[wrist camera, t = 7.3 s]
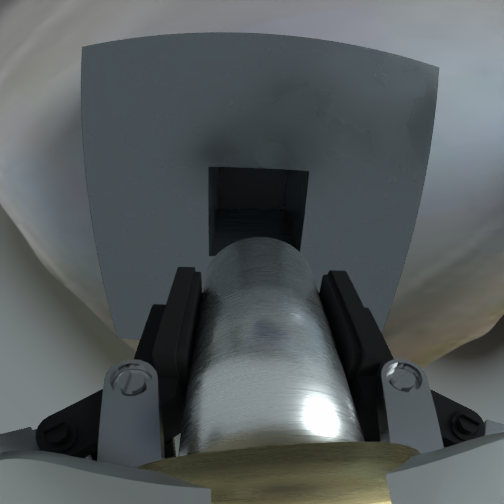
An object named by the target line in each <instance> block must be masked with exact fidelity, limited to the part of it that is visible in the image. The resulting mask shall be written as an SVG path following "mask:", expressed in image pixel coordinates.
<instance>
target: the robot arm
mask: <svg viewBox="0 0 504 504" xmlns="http://www.w3.org/2000/svg"><path fill="white" fill-rule="evenodd" d="M319 295H320V298H321V301H322V304H323V307H324V310H325V313H326V316H327V319H328V322H329V325H330V328H331V331H332V334H333V337H334V340H335V344H336V347H337V350H338V353H339V356H340V359H341V363H342V366H343V369H344V372H345V376H346V379H347V382H348V386H349V389H350V392H351V396H352V399H353V402H354V406H355V409H356V413H357V416H358V420H359V423H360V427H361V431H362V434H363V438H364V441H365V442H387V443H397V444H402V445H407V446H410V447H412V448H415V449H417V450H418V451H419V452H420V453H422V454H420V455H416V456H412V457H411V458H409V459H408V460H407V461H406V462H404V463H403V464H402V465H400V466H399V467H397V468H395V469H394V470H392V471H391V472H389V473H387V474H385V475H386V479H387V484H388V488H389V493H390V498H391V503H392V504H504V424H501V423H497V422H494V421H490V420H486V421H485V422H483V420H482V419H481V417H480V416H479V415H478V414H477V413H476V412H474V411H472V410H471V409H469V408H467V407H464V406H463V405H460V404H459V403H456V402H454V401H453V400H451V399H449V398H447V397H445V396H442V395H440V394H439V393H437V392H435V391H433V390H431V389H430V387H429V383H428V379H427V376H426V374H425V373H424V371H423V369H422V368H421V367H420V366H418V365H417V364H416V363H414V362H412V361H409V360H405V359H393V357H392V355H391V352H390V350H389V348H388V346H387V344H386V342H385V340H384V338H383V335H382V333H381V331H380V329H379V327H378V325H377V323H376V321H375V319H374V317H373V315H372V313H371V311H370V310H369V308H367V307H364V306H363V304H362V302H361V300H360V298H359V296H358V294H357V292H356V290H355V288H354V286H353V284H352V282H351V280H350V278H349V276H348V274H347V272H346V271H336V270H330V271H329V272H328V275H323V277H322V281H321V287H320V292H319ZM201 297H202V278H201V272H195V267H178V268H177V271H176V274H175V277H174V281H173V284H172V287H171V290H170V293H169V296H168V300H167V303H166V305H163V304H154V305H152V308H151V310H150V313H149V316H148V319H147V322H146V324H145V327H144V330H143V333H142V336H141V339H140V342H139V345H138V348H137V351H136V354H135V357H134V359H131V360H124V361H121V362H119V363H117V364H115V365H114V366H113V367H111V368H110V369H109V371H108V372H107V373H106V376H105V379H104V387H103V389H102V390H100V391H98V392H96V393H94V394H92V395H90V396H88V397H86V398H84V399H83V400H81V401H79V402H77V403H75V404H73V405H71V406H69V407H67V408H65V409H63V410H61V411H59V412H57V413H55V414H53V415H51V416H49V417H47V418H46V419H44V420H43V421H42V422H41V423H40V425H39V426H38V428H37V429H35V430H32V428H31V427H28V428H24V429H20V430H16V431H12V432H8V433H3V434H0V504H211V489H210V488H206V487H203V486H200V485H197V484H193V483H190V482H187V481H184V480H181V479H178V478H176V477H173V476H171V475H168V474H166V473H163V472H159V471H151V470H144V469H138V468H136V467H138V466H141V465H143V464H146V463H150V462H154V461H157V460H161V459H167V458H172V457H176V450H175V440H174V437H175V436H176V435H178V434H180V433H181V430H182V422H183V415H184V407H185V400H186V393H187V386H188V380H189V373H190V366H191V360H192V353H193V347H194V340H195V334H196V328H197V321H198V315H199V309H200V303H201Z"/></svg>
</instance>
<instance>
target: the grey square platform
mask: <svg viewBox="0 0 504 504" xmlns="http://www.w3.org/2000/svg"><path fill="white" fill-rule="evenodd" d="M438 76H439V67H436V66H433V65H429V64H426V63H423V62H420V61H416V60H413V59H410V58H406V57H402V56H399V55H395V54H391V53H387V52H383V51H379V50H374V49H370V48H365V47H360V46H355V45H350V44H345V43H339V42H333V41H327V40H320V39H312V38H305V37H296V36H286V35H274V34H258V33H185V34H170V35H158V36H148V37H139V38H131V39H124V40H117V41H111V42H105V43H100V44H94V45H89V46H84V47H82V62H81V110H82V133H83V148H84V160H85V171H86V181H87V189H88V197H89V205H90V212H91V219H92V225H93V231H94V237H95V243H96V248H97V254H98V259H99V264H100V269H101V274H102V278H103V283H104V287H105V292H106V296H107V300H108V304H109V308H110V312H111V316H112V320H113V323H114V327H115V331H116V334H117V337H119V338H129V339H139V340H140V339H141V336H142V333H143V330H144V327H145V324H146V322H147V319H148V316H149V313H150V310H151V308H152V305H154V304H163V305H166V303H167V300H168V296H169V293H170V290H171V287H172V284H173V281H174V277H175V274H176V271H177V268H178V267H195V272H201V278H202V291H203V285H204V279H205V274H206V271H207V268H208V266H209V264H210V262H211V261H212V260H213V258H214V257H215V256H216V255H217V254H218V253H219V252H220V251H221V250H222V249H224V248H225V247H227V246H228V245H230V244H232V243H234V242H237V241H239V240H243V239H246V238H253V237H267V238H273V239H278V240H280V241H283V242H286V243H288V244H290V245H291V246H293V247H294V248H296V249H297V250H298V251H299V252H300V253H301V254H302V255H303V256H304V257H305V259H306V260H307V262H308V264H309V266H310V269H311V272H312V275H313V277H314V280H315V283H316V286H317V289H318V292H320V287H321V281H322V277H323V275H328V272H329V271H330V270H336V271H346V272H347V274H348V276H349V278H350V280H351V282H352V284H353V286H354V288H355V290H356V292H357V294H358V296H359V298H360V300H361V302H362V304H363V306H364V307H367V308H369V310H370V311H371V313H372V315H373V317H374V319H375V321H376V323H377V325H378V327H379V329H380V331H381V333H382V330H383V327H384V324H385V322H386V319H387V316H388V313H389V310H390V307H391V304H392V302H393V299H394V295H395V292H396V289H397V286H398V283H399V280H400V277H401V273H402V270H403V267H404V263H405V260H406V256H407V253H408V249H409V245H410V241H411V238H412V234H413V230H414V226H415V222H416V218H417V213H418V209H419V205H420V200H421V195H422V191H423V186H424V181H425V176H426V170H427V165H428V159H429V153H430V147H431V140H432V133H433V126H434V118H435V109H436V100H437V89H438ZM219 167H242V168H267V169H285V170H288V172H287V184H286V196H285V207H284V210H269V209H242V208H219Z"/></svg>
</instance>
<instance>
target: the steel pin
mask: <svg viewBox="0 0 504 504" xmlns="http://www.w3.org/2000/svg"><path fill="white" fill-rule="evenodd" d="M420 454H422V453H420V452H419V451H418V450H417V449H415V448H412V447H410V446H407V445H402V444H397V443H387V442H365V441H364V438H363V434H362V431H361V427H360V423H359V420H358V416H357V413H356V409H355V406H354V402H353V399H352V396H351V392H350V389H349V386H348V382H347V379H346V376H345V372H344V369H343V366H342V363H341V359H340V356H339V353H338V350H337V347H336V344H335V340H334V337H333V334H332V331H331V328H330V325H329V322H328V319H327V316H326V313H325V310H324V307H323V304H322V301H321V298H320V295H319V292H318V289H317V286H316V283H315V280H314V277H313V275H312V272H311V269H310V266H309V264H308V262H307V260H306V259H305V257H304V256H303V255H302V254H301V253H300V252H299V251H298V250H297V249H296V248H294V247H293V246H291V245H290V244H288V243H286V242H283V241H280V240H278V239H273V238H267V237H253V238H246V239H243V240H239V241H237V242H234V243H232V244H230V245H228V246H227V247H225V248H224V249H222V250H221V251H220V252H219V253H218V254H217V255H216V256H215V257H214V258H213V260H212V261H211V262H210V264H209V266H208V268H207V271H206V274H205V279H204V285H203V291H202V297H201V303H200V309H199V315H198V321H197V328H196V334H195V340H194V347H193V353H192V360H191V366H190V373H189V380H188V386H187V393H186V400H185V407H184V415H183V422H182V430H181V438H180V447H179V456H178V457H172V458H167V459H161V460H157V461H154V462H150V463H146V464H143V465H141V466H138V467H136V468H138V469H144V470H151V471H159V472H163V473H166V474H168V475H171V476H173V477H176V478H178V479H181V480H184V481H187V482H190V483H193V484H197V485H200V486H203V487H206V488H210V489H211V504H392V503H391V498H390V493H389V488H388V484H387V479H386V475H385V474H387V473H389V472H391V471H392V470H394V469H395V468H397V467H399V466H400V465H402V464H403V463H404V462H406V461H407V460H408V459H409V458H411V457H412V456H416V455H420Z"/></svg>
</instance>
